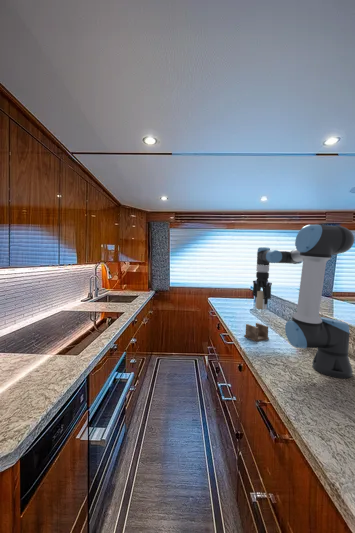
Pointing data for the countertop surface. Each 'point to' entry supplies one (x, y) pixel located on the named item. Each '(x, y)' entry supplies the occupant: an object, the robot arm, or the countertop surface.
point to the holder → (257, 332)
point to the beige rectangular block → (260, 300)
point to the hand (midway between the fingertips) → (260, 308)
